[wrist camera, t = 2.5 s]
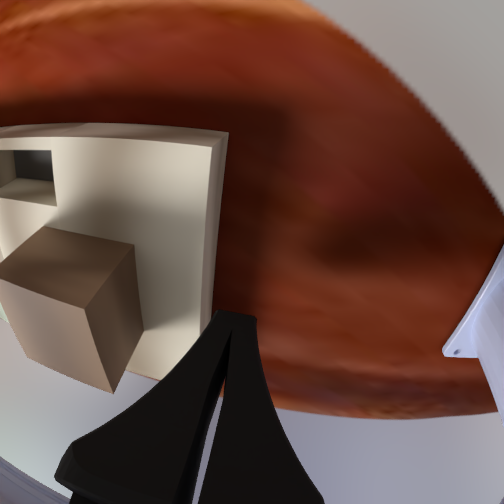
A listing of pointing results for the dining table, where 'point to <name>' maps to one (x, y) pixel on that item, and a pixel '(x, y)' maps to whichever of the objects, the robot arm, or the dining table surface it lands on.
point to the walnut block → (74, 304)
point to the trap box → (126, 213)
